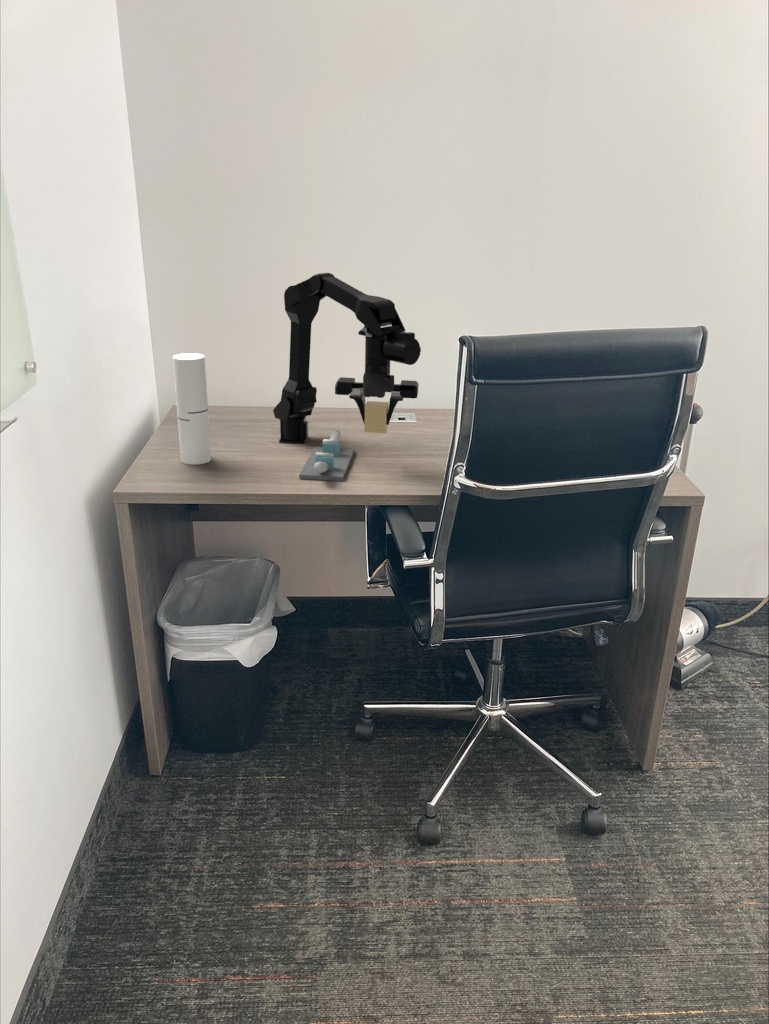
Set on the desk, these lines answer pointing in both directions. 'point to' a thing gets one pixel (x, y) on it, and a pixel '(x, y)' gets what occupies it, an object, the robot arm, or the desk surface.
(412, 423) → the desk surface
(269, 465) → the desk surface
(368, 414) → the block
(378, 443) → the desk surface
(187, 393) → the cylindrical container
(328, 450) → the coupling stand
